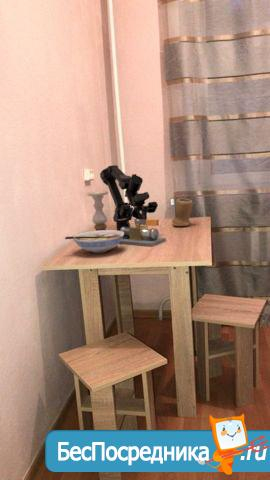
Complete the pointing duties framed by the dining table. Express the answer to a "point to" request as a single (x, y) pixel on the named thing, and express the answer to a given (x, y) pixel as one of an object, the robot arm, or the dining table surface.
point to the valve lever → (147, 222)
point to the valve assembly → (141, 236)
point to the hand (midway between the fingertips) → (145, 222)
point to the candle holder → (98, 210)
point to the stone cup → (182, 212)
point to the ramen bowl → (98, 240)
